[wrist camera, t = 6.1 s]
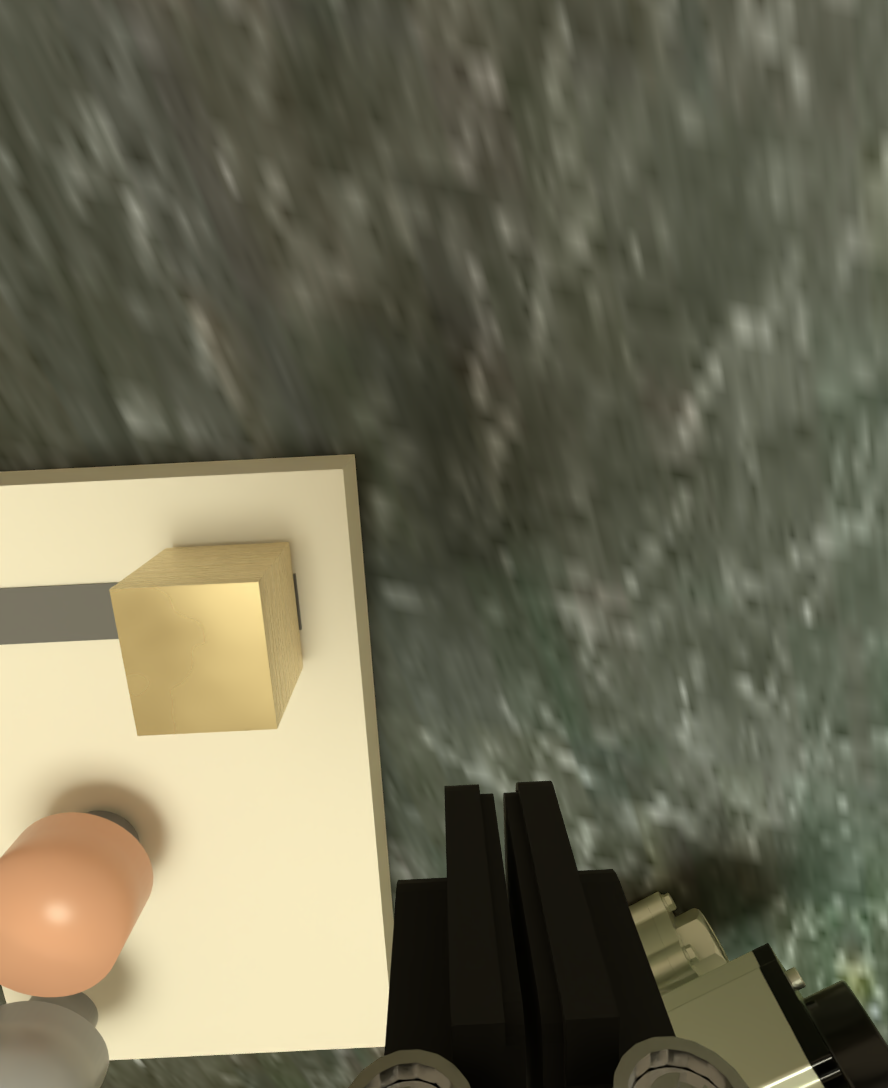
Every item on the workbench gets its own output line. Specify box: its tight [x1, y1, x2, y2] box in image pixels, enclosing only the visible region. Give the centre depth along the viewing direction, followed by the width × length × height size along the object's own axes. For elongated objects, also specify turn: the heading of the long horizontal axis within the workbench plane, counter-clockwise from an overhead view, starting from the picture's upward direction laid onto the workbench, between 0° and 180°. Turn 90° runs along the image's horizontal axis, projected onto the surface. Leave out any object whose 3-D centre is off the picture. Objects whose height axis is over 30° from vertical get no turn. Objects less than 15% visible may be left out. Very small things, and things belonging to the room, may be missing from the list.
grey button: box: [0, 992, 109, 1088], centre depth 21 cm, size 4×4×4 cm
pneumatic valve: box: [629, 891, 888, 1088], centre depth 22 cm, size 6×12×12 cm, turn 123°
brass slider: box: [109, 542, 303, 736], centre depth 19 cm, size 4×4×4 cm
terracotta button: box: [0, 811, 153, 997], centre depth 21 cm, size 4×4×4 cm
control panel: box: [0, 454, 394, 1060], centre depth 24 cm, size 14×22×3 cm, turn 3°
